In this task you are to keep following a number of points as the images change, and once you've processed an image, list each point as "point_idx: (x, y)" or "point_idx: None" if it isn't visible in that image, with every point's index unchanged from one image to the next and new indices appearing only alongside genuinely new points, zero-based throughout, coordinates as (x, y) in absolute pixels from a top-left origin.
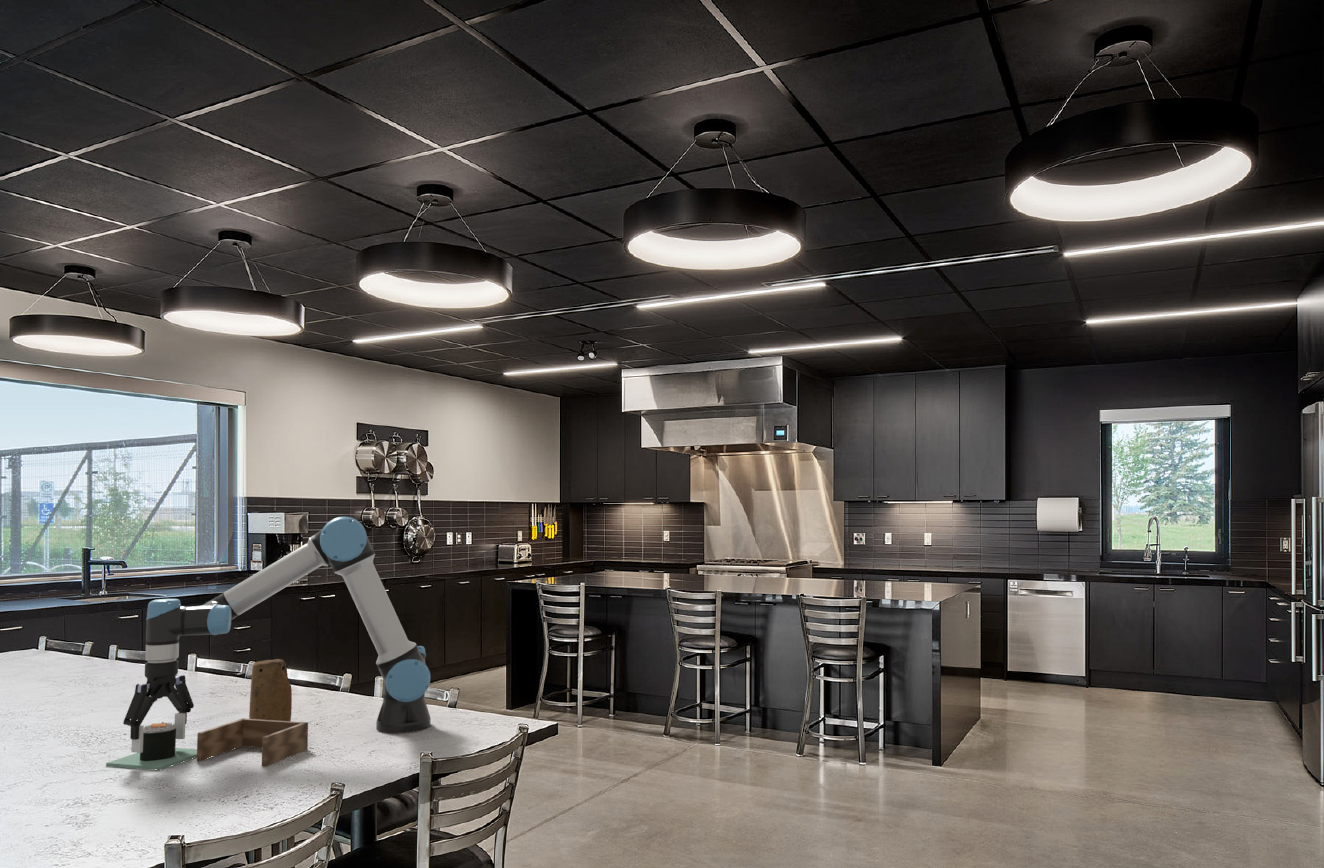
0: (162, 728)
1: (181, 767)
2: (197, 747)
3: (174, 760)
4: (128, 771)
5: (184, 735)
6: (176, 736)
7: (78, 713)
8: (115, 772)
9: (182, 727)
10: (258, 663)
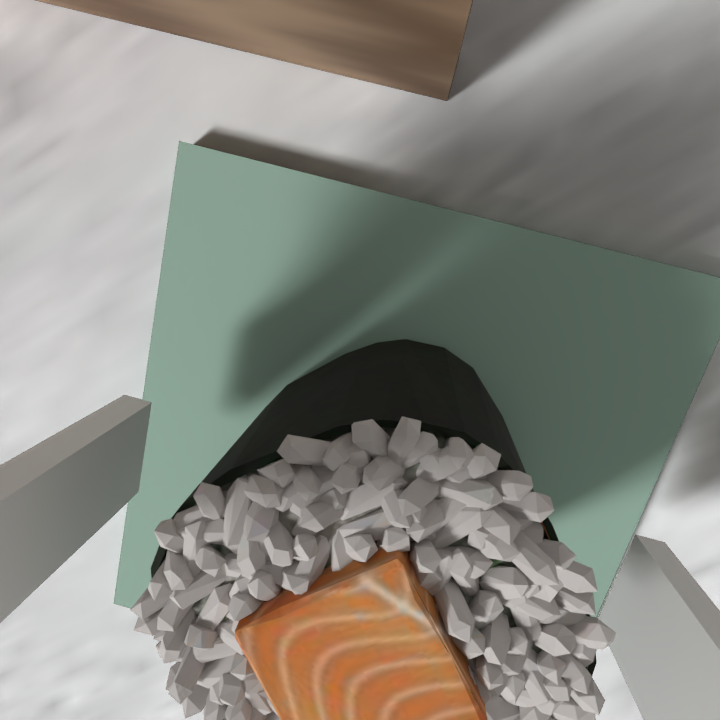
0: (510, 553)
1: (638, 135)
2: (456, 57)
3: (521, 266)
4: (701, 510)
5: (112, 406)
6: (130, 478)
7: None
8: (714, 585)
9: (77, 457)
10: None
